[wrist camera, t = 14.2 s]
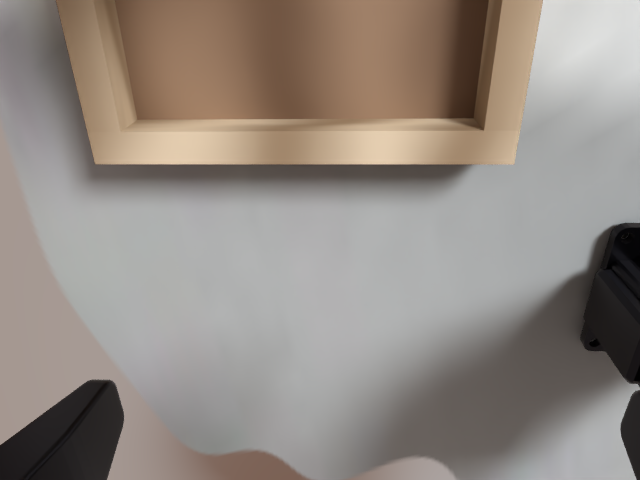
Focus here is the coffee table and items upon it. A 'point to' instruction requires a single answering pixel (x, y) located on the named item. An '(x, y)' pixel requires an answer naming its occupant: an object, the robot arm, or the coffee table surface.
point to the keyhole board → (301, 79)
